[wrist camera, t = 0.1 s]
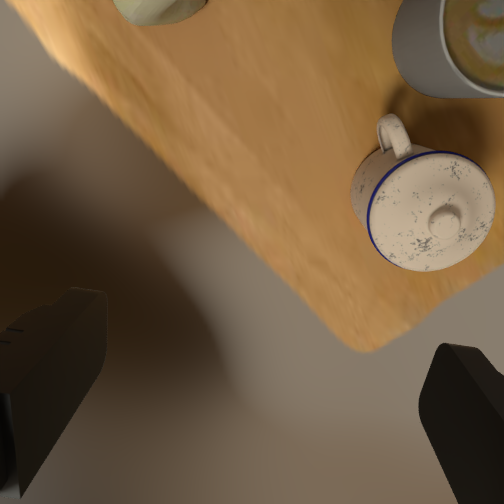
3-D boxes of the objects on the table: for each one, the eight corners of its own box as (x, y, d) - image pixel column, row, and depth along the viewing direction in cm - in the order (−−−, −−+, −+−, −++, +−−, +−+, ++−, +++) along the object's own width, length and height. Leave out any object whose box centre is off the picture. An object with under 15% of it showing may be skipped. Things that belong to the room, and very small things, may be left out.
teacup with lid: (458, 213, 38) (532, 260, 27) (365, 249, 40) (400, 306, 29) (421, 89, 34) (491, 84, 23) (321, 135, 36) (342, 150, 25)
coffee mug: (370, 14, 32) (409, -21, 23) (489, -71, 30) (586, -148, 21) (440, 155, 36) (499, 174, 27) (551, 89, 34) (658, 85, 24)
